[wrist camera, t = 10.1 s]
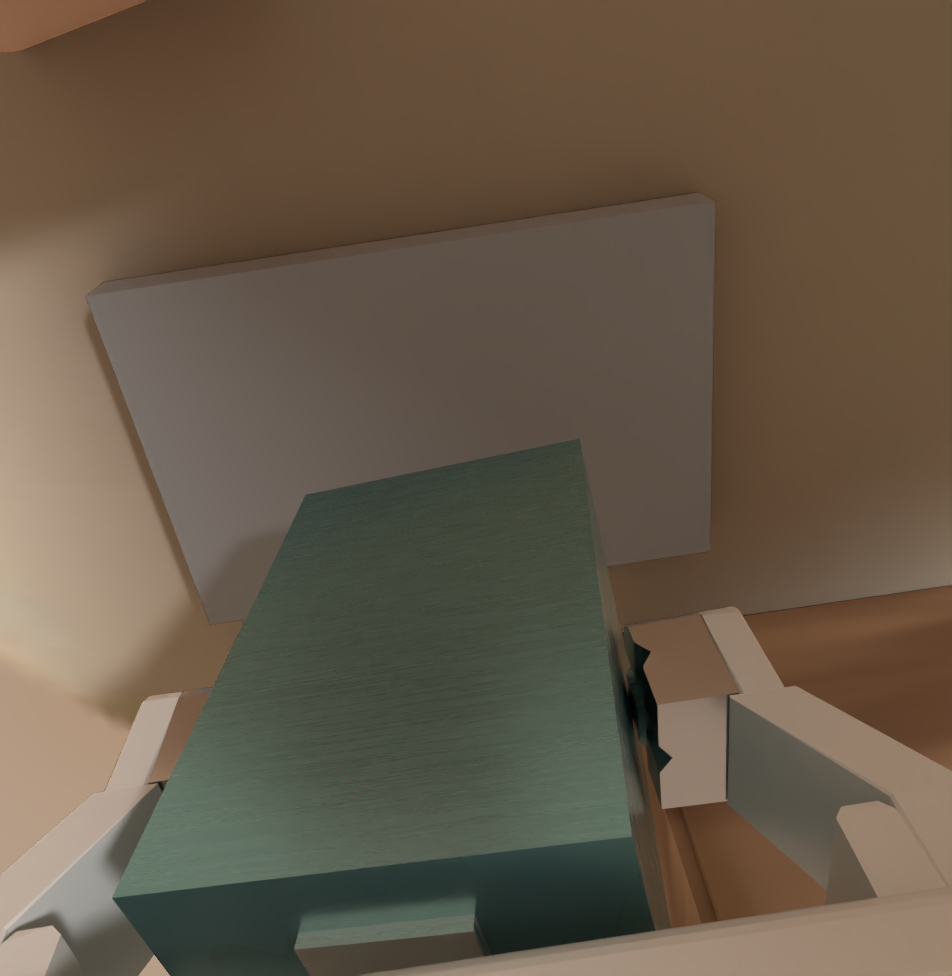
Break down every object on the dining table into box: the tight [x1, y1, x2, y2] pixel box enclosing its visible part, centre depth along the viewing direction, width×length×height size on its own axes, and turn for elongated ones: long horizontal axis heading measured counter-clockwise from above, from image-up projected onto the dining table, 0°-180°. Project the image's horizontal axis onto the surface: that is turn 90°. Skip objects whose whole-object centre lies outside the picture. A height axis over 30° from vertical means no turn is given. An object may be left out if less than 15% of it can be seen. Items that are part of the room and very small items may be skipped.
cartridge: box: [112, 439, 671, 976], centre depth 11 cm, size 4×4×7 cm
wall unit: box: [622, 586, 952, 928], centre depth 18 cm, size 5×10×11 cm, turn 98°
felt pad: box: [85, 192, 715, 625], centre depth 18 cm, size 8×12×1 cm, turn 98°
